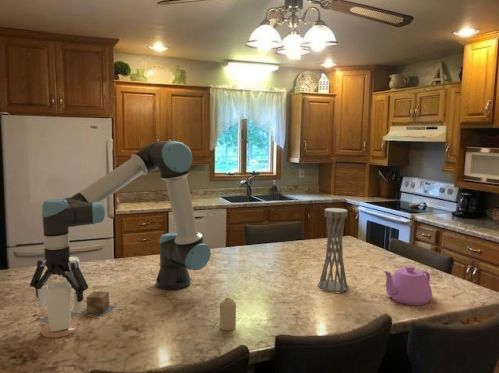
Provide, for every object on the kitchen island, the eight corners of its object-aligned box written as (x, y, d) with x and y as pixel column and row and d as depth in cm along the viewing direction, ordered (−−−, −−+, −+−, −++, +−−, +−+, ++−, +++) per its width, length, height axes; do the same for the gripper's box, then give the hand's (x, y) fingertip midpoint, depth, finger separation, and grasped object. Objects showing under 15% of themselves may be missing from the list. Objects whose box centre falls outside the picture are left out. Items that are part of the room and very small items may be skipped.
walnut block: (109, 306, 158) (108, 291, 157) (102, 313, 152) (102, 297, 151) (93, 306, 158) (93, 291, 158) (86, 312, 152) (86, 297, 152)
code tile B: (117, 307, 159) (117, 306, 159) (102, 317, 149) (102, 316, 149) (94, 304, 161) (94, 303, 161) (78, 314, 151) (78, 313, 151)
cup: (49, 335, 133) (47, 290, 132) (46, 326, 139) (44, 284, 138) (73, 330, 137) (72, 286, 136) (69, 322, 143) (68, 280, 142)
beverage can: (72, 289, 176) (71, 261, 175) (55, 287, 178) (55, 260, 177) (83, 282, 184) (83, 256, 183) (67, 281, 186) (66, 255, 185)
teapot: (413, 288, 185) (415, 258, 183) (445, 302, 168) (448, 270, 167) (368, 295, 175) (369, 263, 174) (397, 311, 159) (399, 276, 157)
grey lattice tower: (354, 287, 184) (357, 210, 180) (338, 295, 174) (341, 213, 171) (328, 280, 193) (330, 206, 190) (311, 287, 184) (314, 209, 180)
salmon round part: (84, 324, 142) (84, 323, 142) (63, 339, 132) (63, 337, 132) (56, 321, 145) (56, 319, 145) (33, 335, 134) (33, 333, 134)
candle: (219, 323, 145) (219, 296, 144) (235, 323, 145) (235, 296, 144) (219, 331, 140) (220, 302, 138) (236, 330, 140) (236, 302, 139)
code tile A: (79, 313, 152) (79, 312, 152) (62, 325, 143) (62, 324, 143) (56, 311, 154) (56, 309, 154) (37, 322, 145) (37, 321, 145)
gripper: (97, 246, 136) (100, 307, 139) (32, 241, 142) (35, 301, 144) (83, 252, 129) (86, 316, 131) (15, 247, 134) (19, 309, 137)
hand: (60, 308), depth 138 cm, fingers open, 13 cm apart
